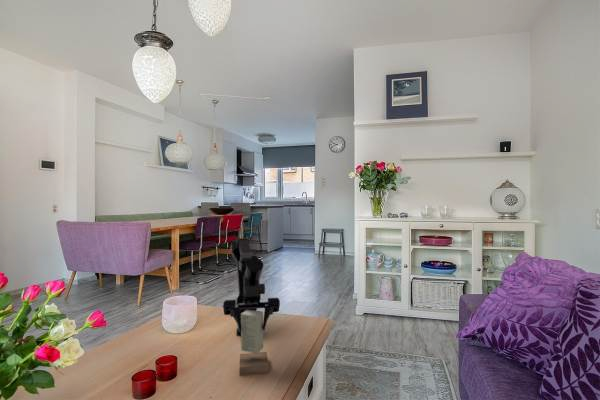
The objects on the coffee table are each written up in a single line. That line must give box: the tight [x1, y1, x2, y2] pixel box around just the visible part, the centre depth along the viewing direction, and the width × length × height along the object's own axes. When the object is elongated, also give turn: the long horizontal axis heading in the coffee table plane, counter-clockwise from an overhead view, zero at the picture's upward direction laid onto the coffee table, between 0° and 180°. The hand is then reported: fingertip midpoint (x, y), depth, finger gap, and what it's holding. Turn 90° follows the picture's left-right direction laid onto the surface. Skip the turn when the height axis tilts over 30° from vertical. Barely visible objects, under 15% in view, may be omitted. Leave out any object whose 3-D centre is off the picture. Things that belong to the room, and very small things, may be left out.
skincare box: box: [240, 310, 264, 353], centre depth 105 cm, size 6×4×12 cm
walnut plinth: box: [239, 351, 270, 376], centre depth 105 cm, size 9×9×2 cm
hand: (252, 330), depth 104 cm, fingers closed on skincare box, 7 cm apart
